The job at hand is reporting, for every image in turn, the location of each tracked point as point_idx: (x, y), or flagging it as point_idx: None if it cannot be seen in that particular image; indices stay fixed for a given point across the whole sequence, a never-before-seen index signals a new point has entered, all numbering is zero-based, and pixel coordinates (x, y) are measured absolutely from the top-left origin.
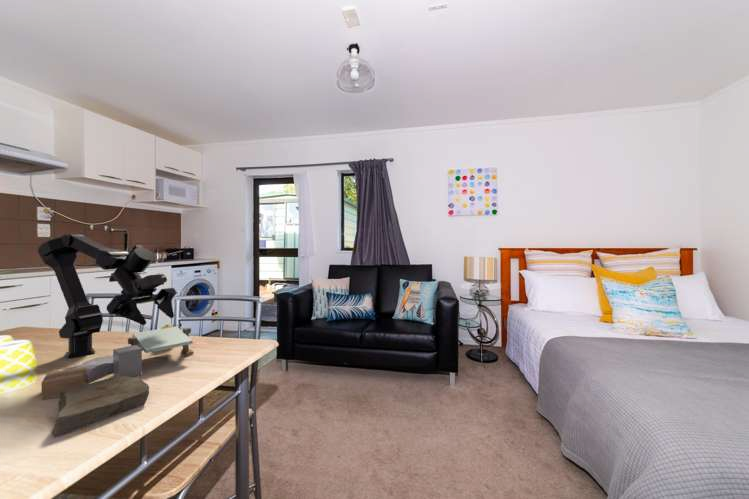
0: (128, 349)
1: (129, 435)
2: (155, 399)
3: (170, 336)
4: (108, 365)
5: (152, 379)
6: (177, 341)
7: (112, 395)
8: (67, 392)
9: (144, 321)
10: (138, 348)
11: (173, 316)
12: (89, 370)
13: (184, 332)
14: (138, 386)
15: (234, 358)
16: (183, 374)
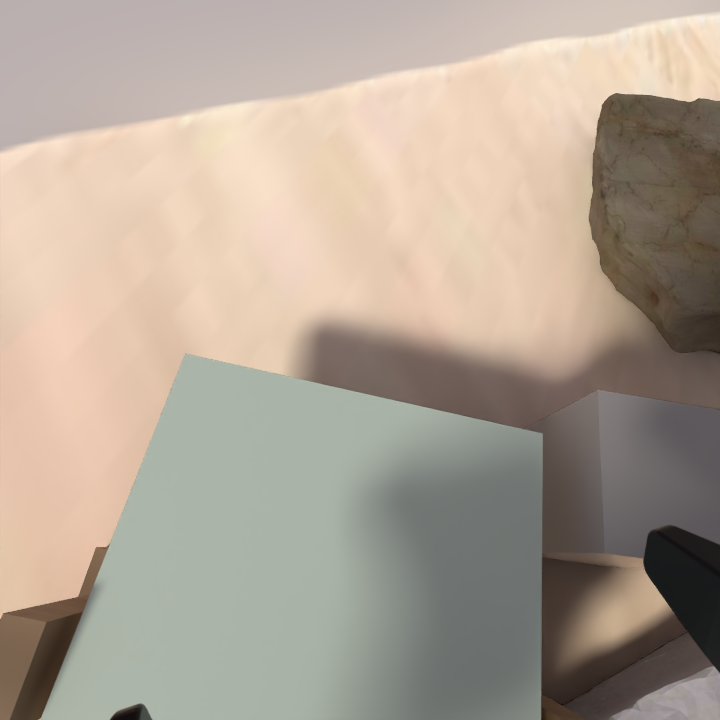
0: (675, 452)
1: (669, 22)
2: (558, 137)
3: (252, 608)
4: (665, 678)
5: (493, 330)
6: (284, 425)
7: (718, 152)
8: None
9: (695, 536)
10: (616, 407)
11: (131, 706)
12: None
13: (51, 652)
14: (631, 149)
15: (58, 222)
16: (372, 258)
